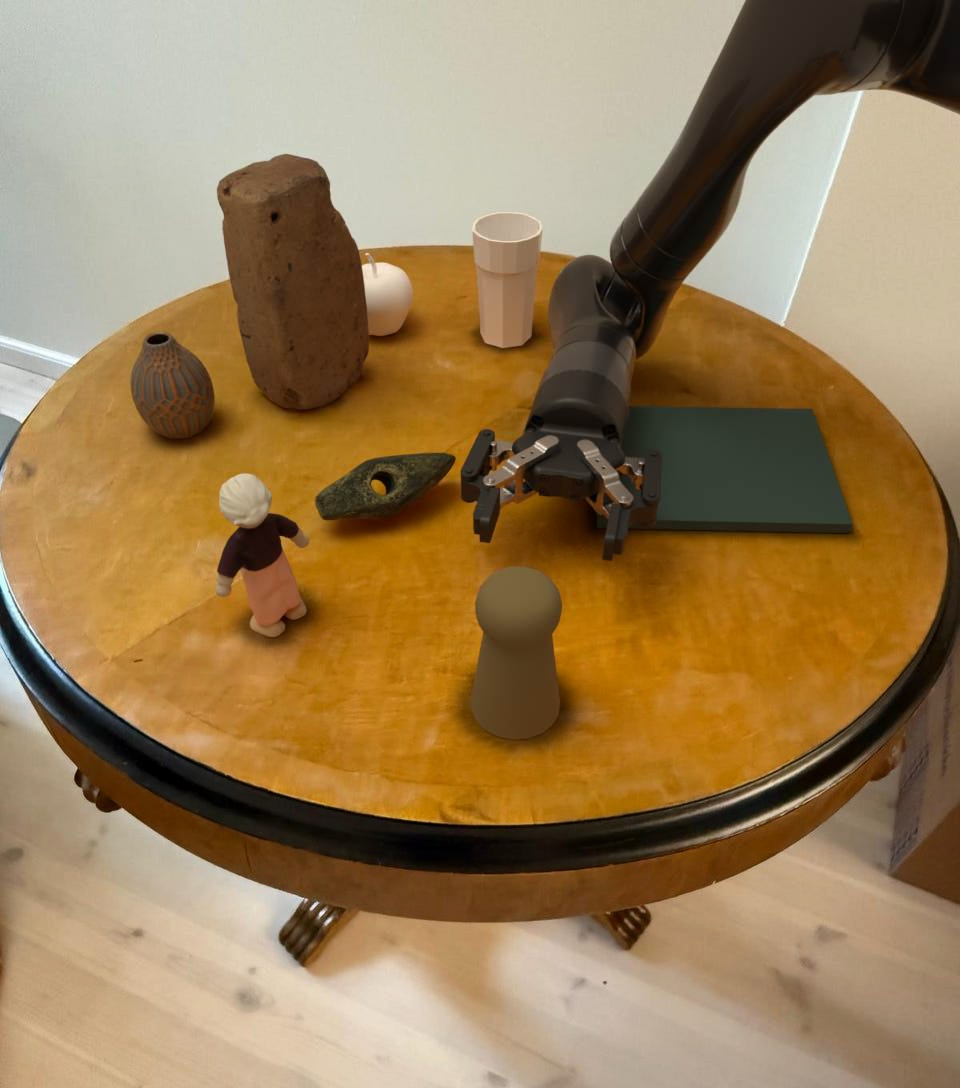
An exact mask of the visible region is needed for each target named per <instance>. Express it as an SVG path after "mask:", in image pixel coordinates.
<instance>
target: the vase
mask: <svg viewBox="0 0 960 1088" xmlns="http://www.w3.org/2000/svg"><path fill="white" fill-rule="evenodd" d="M211 378H212V377H211V376H210V373H209V372H208V370H207V368H206V366H205V365H204V363H203V362H202V361H201V359H200V358H199V357H198V356H197V355H196V354H194V353H193V352H192V351H190V350H189V349H187V347H185V346H184V345H182V344H181V343H179V342H178V341H177V339H175V338H174V336H173V334H171V333H169V332H167V331H155V332H151V333H148V334H147V335H146V336H145V337H143V340H142V347H141V350H140V352H139V354H138V356H137V357H136V360H135V362H134V364H133V366H132V369H131V374H130V392H131V397H132V401H133V404H134V407H135V410H136V412H137V413H138V415H139V417H140V418H141V419H142V421H143V422H144V423H145V425H146V426H148V428H150V429H151V430H153V431H154V432H155V431H156V432H155V433H156V434H158V435H161V436H163V437H166V438H169V439H173V440H180V439H187V438H191V437H195V436H196V435H198V434H199V433H201V432H202V431H204V429H205V428H206V427H207V425H208V424H209V423H210V421H211V419H212V418H213V415H214V411H215V403H216V398H215V396H216V395H215V389H214V384H213V382H212V379H211Z"/></svg>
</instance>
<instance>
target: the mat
mask: <svg viewBox="0 0 960 1088" xmlns="http://www.w3.org/2000/svg"><path fill="white" fill-rule="evenodd" d="M621 450H622V451H623V453H624V455H625V457H635V458H645V454H646V452H647V451H648V450H658V451H660V452H661V453H662V470H661V493H660V501H659V503H658V509H657V519H656V524H655V525H654V526H653V527H644V526H642V525H640V523H634V524H632V525H630V526H629V528H628V530H631V529H632V530H664V531H665V530H666V531H667V530H670V531H672V530H675V531H715V532H716V531H717V532H718V531H719V532H720V531H721V532H723V531H724V532H761V533H762V532H765V533H767V532H772V533H775V532H776V533H811V534H812V533H817V534H823V533H824V534H850V532H851V529H852V527H853V521H852V518H851V515H850V512H849V509H848V506H847V504H846V501H845V498H844V495H843V492H842V490H841V487H840V484H839V481H838V478H837V475H836V473H835V470H834V466H833V464H832V461H831V458H830V455H829V453H828V450H827V447H826V443H825V441H824V439H823V436H822V432H821V430H820V427H819V425H818V422H817V418H816V416H815V413H814V410H813V408H785V407H784V408H781V407H779V408H777V407H723V406H722V407H717V406H713V407H711V406H657V405H656V406H654V405H652V406H651V405H630V407H629V418H628V421H627V424H626V427H625V432H624V437H623V442H622V447H621ZM620 482H621V483H622V484H623V485H624V487H625V488H626V489H627V490H628V491H629V492H630V493H631V494H632V495H633V497H637V496H641V489H640V490H637V489H636V488H635V484H634V483H633V482H632V480H631V477H630V476H628V475H626V474H623V475H622V477H621V478H620ZM595 515H596V528H597V529H607V524H608V519H607V518H606V517H605V515H604V514H601V515H599V514H598V513H597V512H596V511H595Z"/></svg>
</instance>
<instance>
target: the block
mask: <svg viewBox="0 0 960 1088" xmlns="http://www.w3.org/2000/svg"><path fill="white" fill-rule="evenodd" d="M331 195H332V194H331V181H330V179H329V177H328V174H327V172H326V170H325V168H324V167H323V166H322V165H321V164H320V163H319V162H318V161H317V160H314V159H311V158H309V157H303V156H300V155H299V156H298V155H296V154H295V155H294V154H290V153H283V154H278V155H274V157H272V158H270V159H269V160H262V161H255V162H254V161H253V162H252V163H249V164H248V165H246V166H244V167H241V168H239V169H237V170H234V171H232V172H229V173H228V174H227V175H225V176H224V177H223V178H221V179H220V180H219V181H218V184H217V187H216V197H217V198H216V199H217V202H218V205H219V208H220V209H221V211H222V214H223V219H222V226H221V230H222V234H223V236H222V237H223V244H224V251H225V257H226V263H227V270H228V276H229V281H230V286H231V290H232V295H233V299H234V301H235V303H236V306H237V308H236V318H237V325H238V329H239V334H240V338H241V343H242V346H243V351H244V355H245V360H246V362H247V365H248V368H249V371H250V374H251V377H252V379H253V382H254V384H255V385H256V387H257V388H258V389H259V390H260V391H261V392H262V394H264V396H265V397H266V398H268V399H269V400H270V401H271V402H273V403H274V404H275V405H276V406H277V405H278V406H279V407H281V408H285V409H295V410H296V409H297V410H298V409H299V410H311V409H313V408H319V407H322V406H324V405H325V406H326V405H327V404H330V403H332V402H333V401H335V400H336V399H338V398H340V396H341V395H342V394H343V393H344V392H345V391H346V390H347V389H349V388H351V387H352V386H353V385H354V384H356V382H357V383H358V381H359V379H360V377H361V374H362V372H363V368H364V364H365V361H366V359H367V357H368V355H369V351H370V335H369V329H368V316H367V305H366V296H365V285H364V277H363V271H362V265H363V264H362V259H361V255H360V250H359V247H358V244H357V242H356V240H355V239H354V238H353V236H352V234H351V231H350V229H349V227H348V225H347V224H346V220H345V218H344V217H343V215H342V213H341V212H340V211H339V210H337V209H336V208H335V207H334V204H333V202H332V197H331Z"/></svg>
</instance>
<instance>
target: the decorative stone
mask: <svg viewBox="0 0 960 1088" xmlns="http://www.w3.org/2000/svg"><path fill="white" fill-rule="evenodd" d="M456 461H457V458H456V456H455V455H454V454H451V453H447V452H419V453H406V454H394V455H385V456H379V457H374V458H370V459H366V460H365V461H363V462H361V463H360V464H358V465H357V466H355V467H354V468H353V469H351V470H350V471H349V472H348V473H346V474H344V475H343V476H342V477H340V478H339V479H337V480H335V481H334V482H332V483H330V484H329V485H328V486H326V487H324V488H323V489H322V490H321V491H320V492H319V493H318V494H316V496H315V497H314V505H315V508H316V510H317V512H318V515H319V517H320V518H321V520H323V521H343V520H351V519H352V520H353V519H380V518H389V517H392V516H393V515H394V516H395V515H396V514H398V513H400V512H402V511H403V510H405V509H407V508H408V507H410V506H411V505H414V503H416V502H417V501H419V500H420V499H422V498H423V497H424V496H426V495H427V494H428V493H429V492H431V491H432V490H433V489H434V488H435V487H436V486H438V484H439V483H440V482H441V481H442V480H443V479H444V478H445V477H446V476H447V475H448V473H450V471H451V469H452V468H453V467H454V465H455V464H456ZM373 481H378V482H380V483H381V484H382V485H383V486H384V488H385V494H380V493H378V492H377V491H375V489H374V487H373V485H372V482H373Z"/></svg>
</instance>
